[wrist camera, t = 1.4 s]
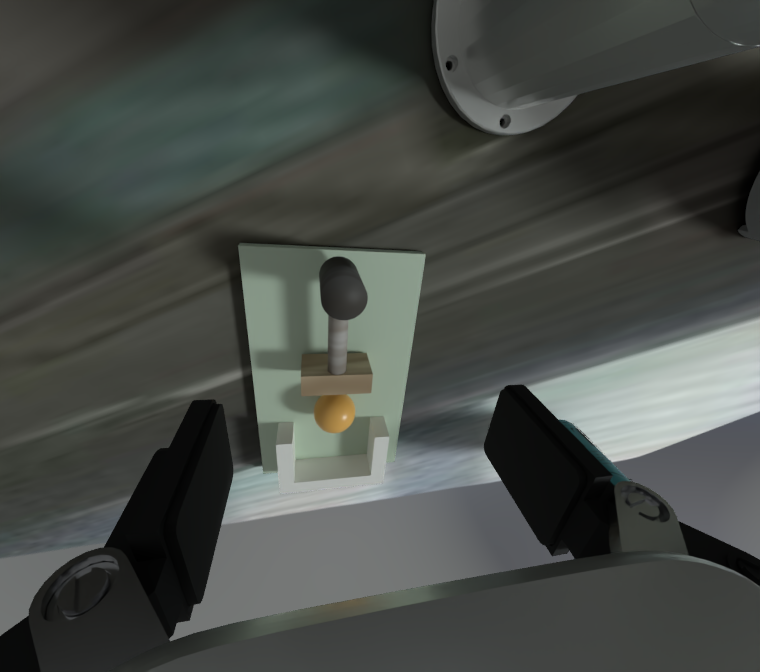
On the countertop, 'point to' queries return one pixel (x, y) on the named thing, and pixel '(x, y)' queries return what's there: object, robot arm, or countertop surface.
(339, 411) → the ball
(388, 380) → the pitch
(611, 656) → the robot arm
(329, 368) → the rod
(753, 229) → the blender
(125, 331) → the countertop surface
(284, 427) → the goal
